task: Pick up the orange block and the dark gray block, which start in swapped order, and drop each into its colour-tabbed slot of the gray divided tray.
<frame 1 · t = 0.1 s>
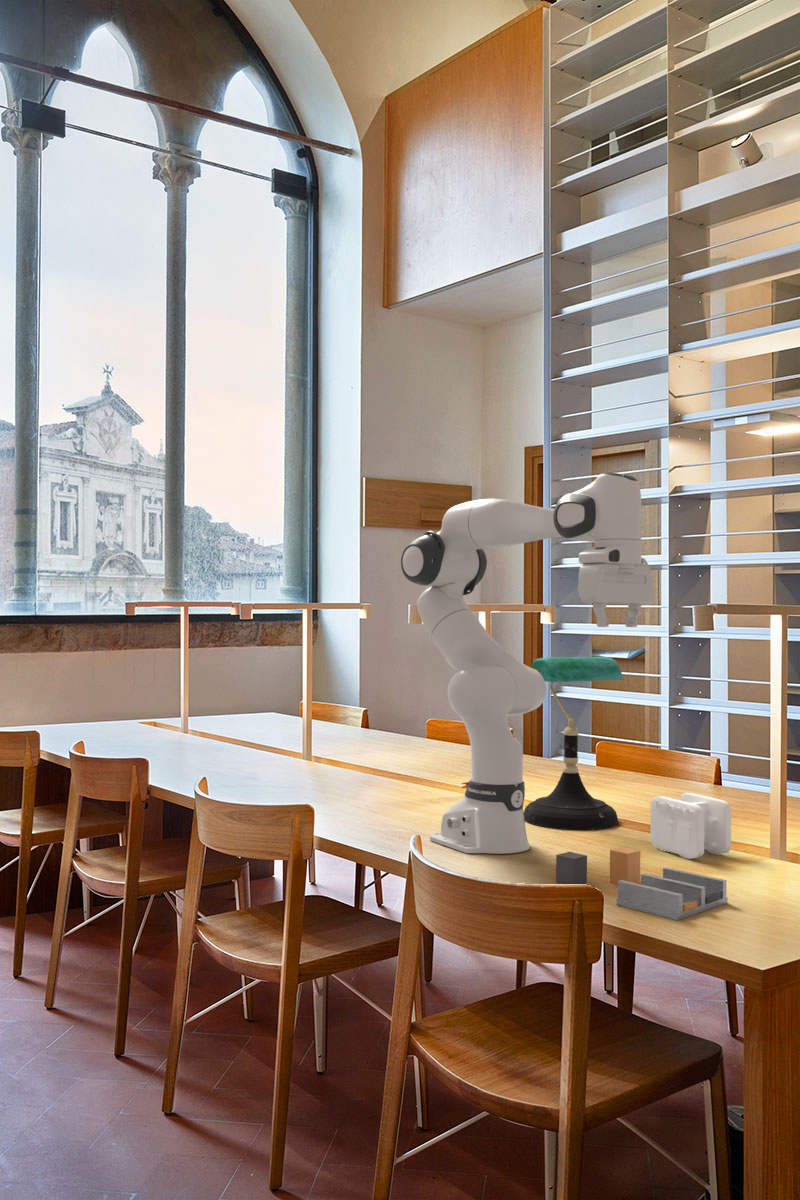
hand: (617, 627, 198), 48 cm above the table, fingers open, 8 cm apart
gray divided tray: (672, 903, 178), on the table
banker's lamp: (570, 821, 250), on the table
cable organizer: (690, 854, 217), on the table
orange block: (624, 882, 192), on the table
dark gray block: (571, 887, 187), on the table
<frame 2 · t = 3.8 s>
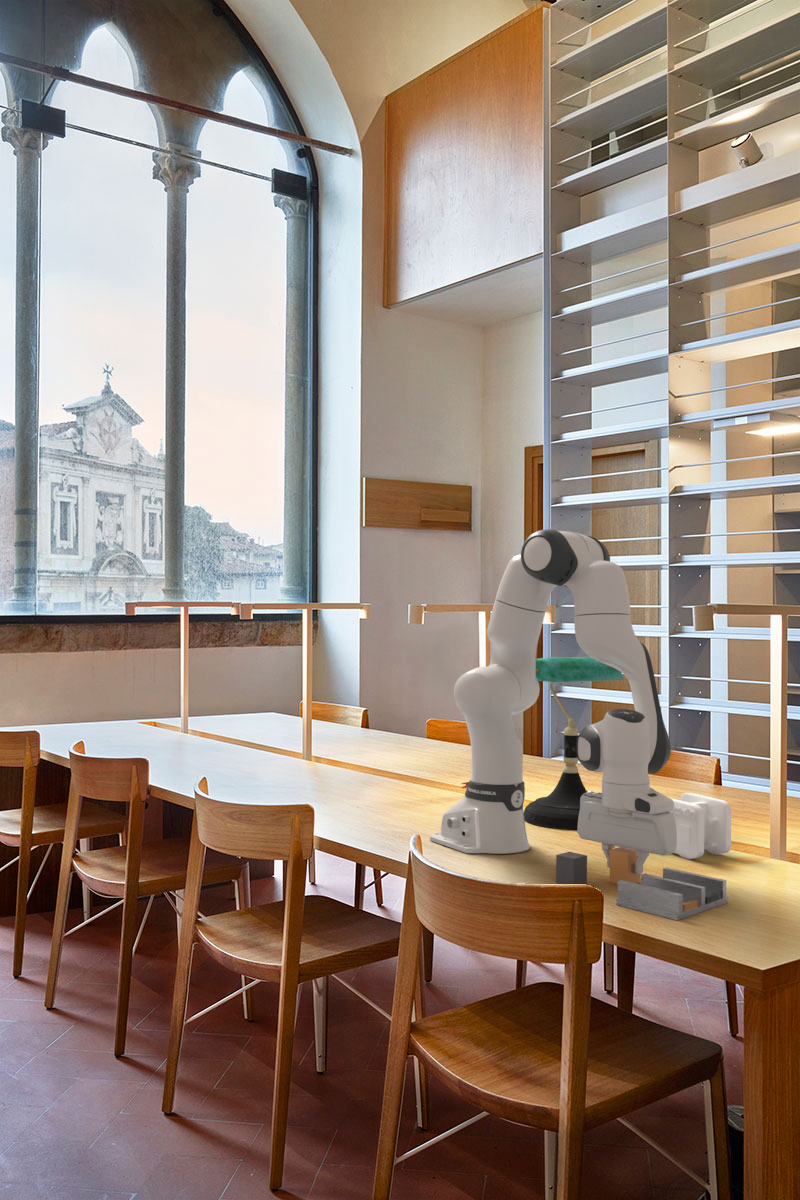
hand: (624, 870, 192), 2 cm above the table, fingers closed on orange block, 4 cm apart
orange block: (624, 882, 192), on the table, touching gripper
everything else where it was.
when the fingers open (5 cm above the table, at t = 9.1 s): orange block drops 1 cm, resting on gray divided tray.
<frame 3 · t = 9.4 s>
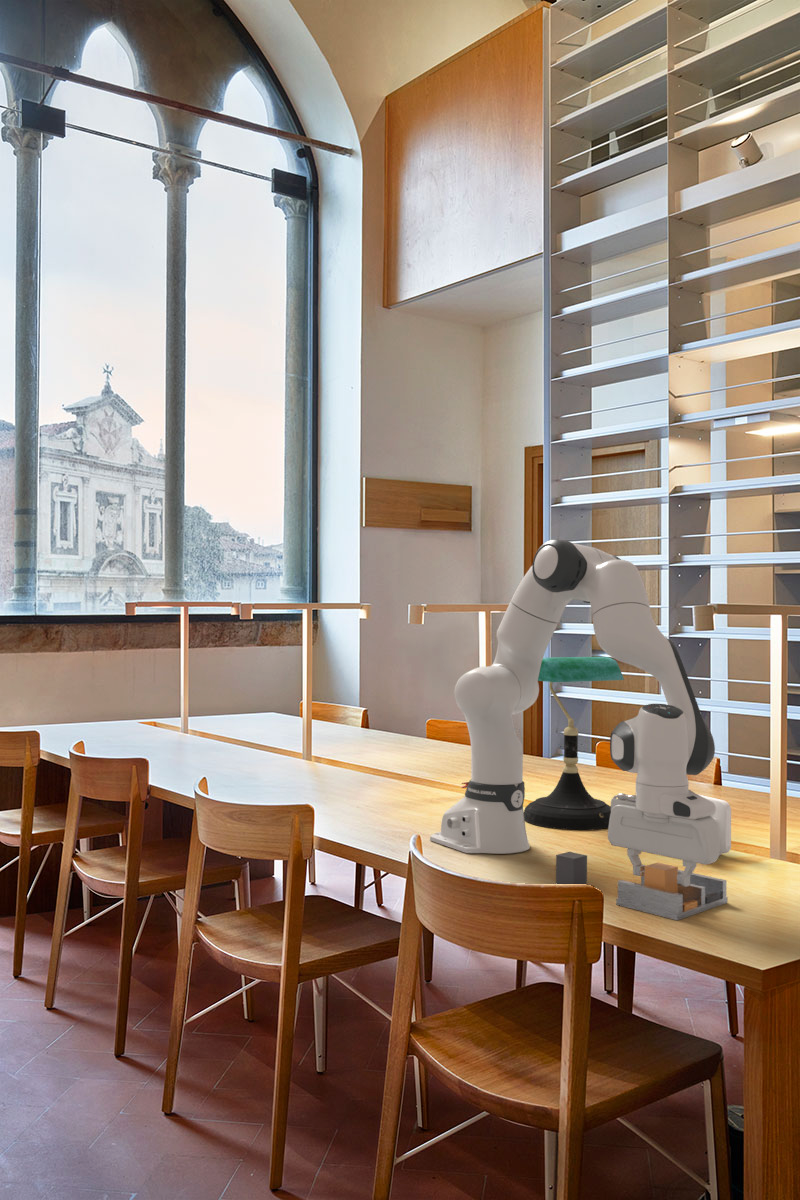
hand: (661, 880, 175), 5 cm above the table, fingers open, 7 cm apart
orange block: (660, 901, 175), point 1 cm above the table, touching gray divided tray
everything else where it was.
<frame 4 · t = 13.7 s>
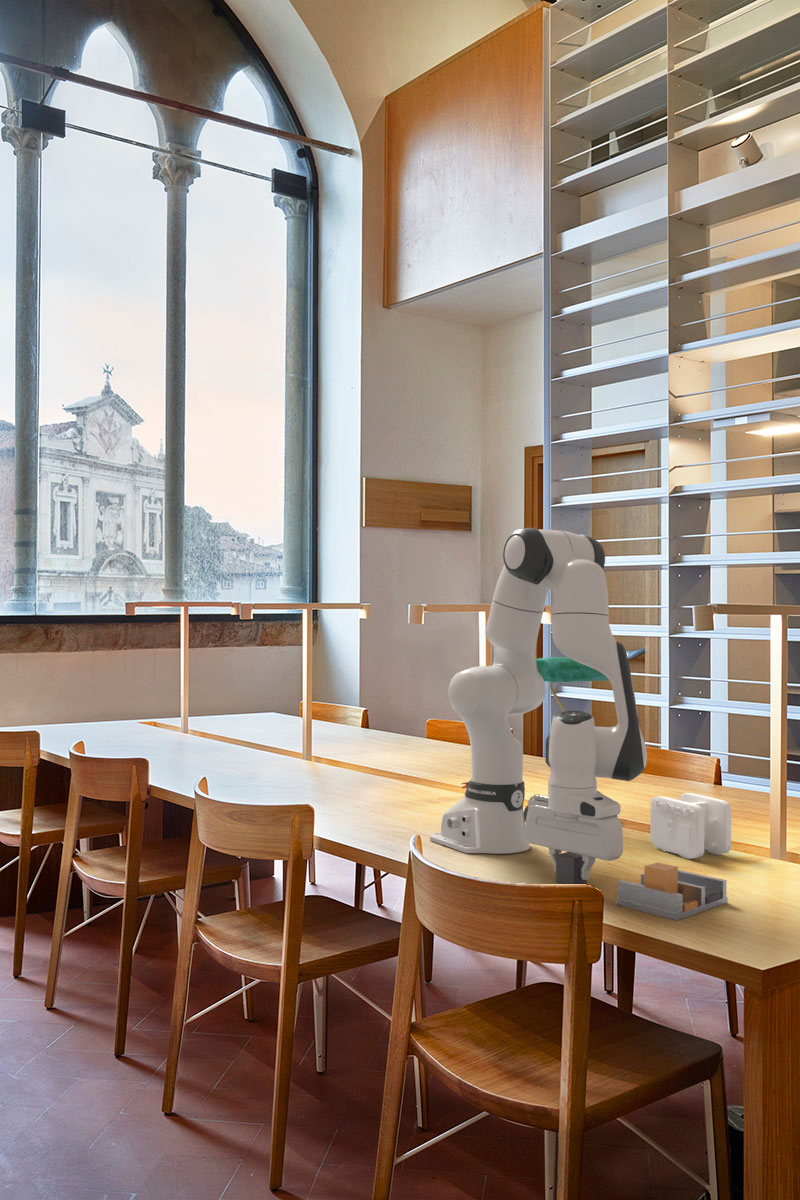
hand: (571, 876, 187), 2 cm above the table, fingers closed on dark gray block, 4 cm apart
dark gray block: (571, 887, 187), on the table, touching gripper
everything else where it was.
when the fingers open (5 cm above the table, at t = 19.2 s): dark gray block drops 1 cm, resting on gray divided tray.
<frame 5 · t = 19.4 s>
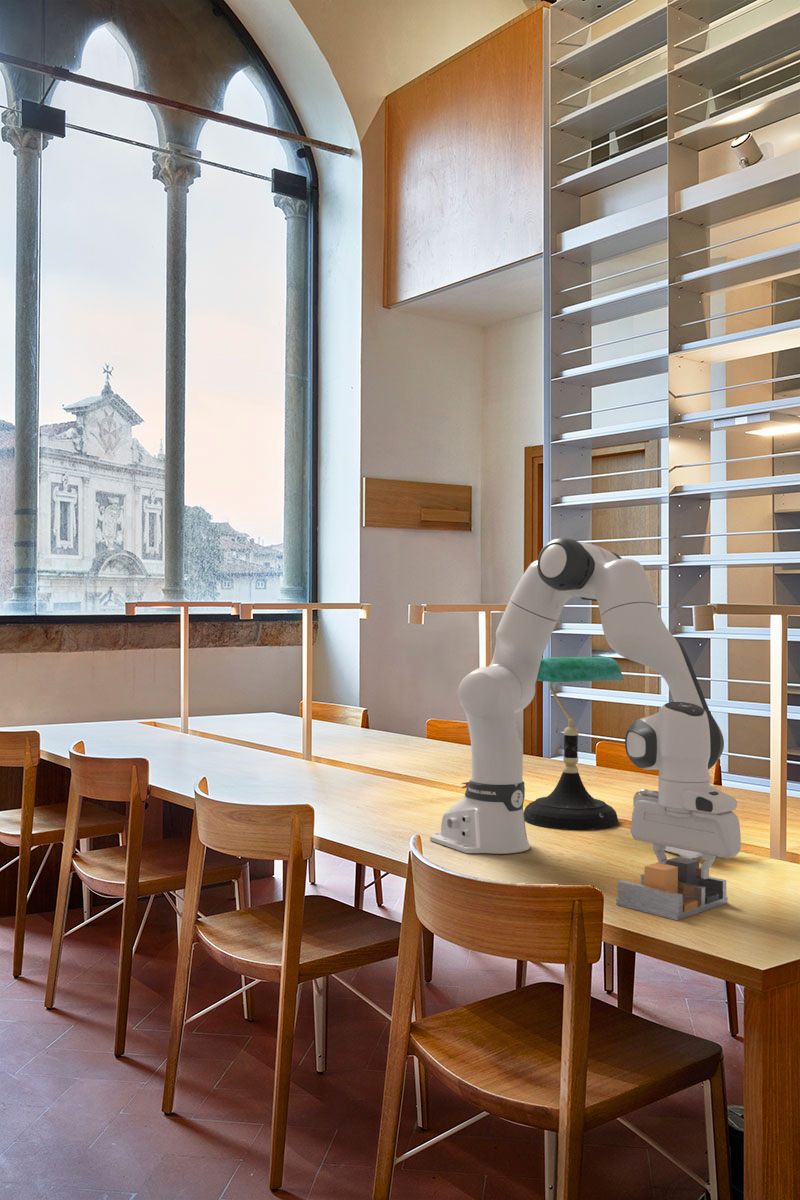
hand: (683, 873, 180), 5 cm above the table, fingers open, 6 cm apart
dark gray block: (682, 894, 180), point 1 cm above the table, touching gray divided tray
everything else where it was.
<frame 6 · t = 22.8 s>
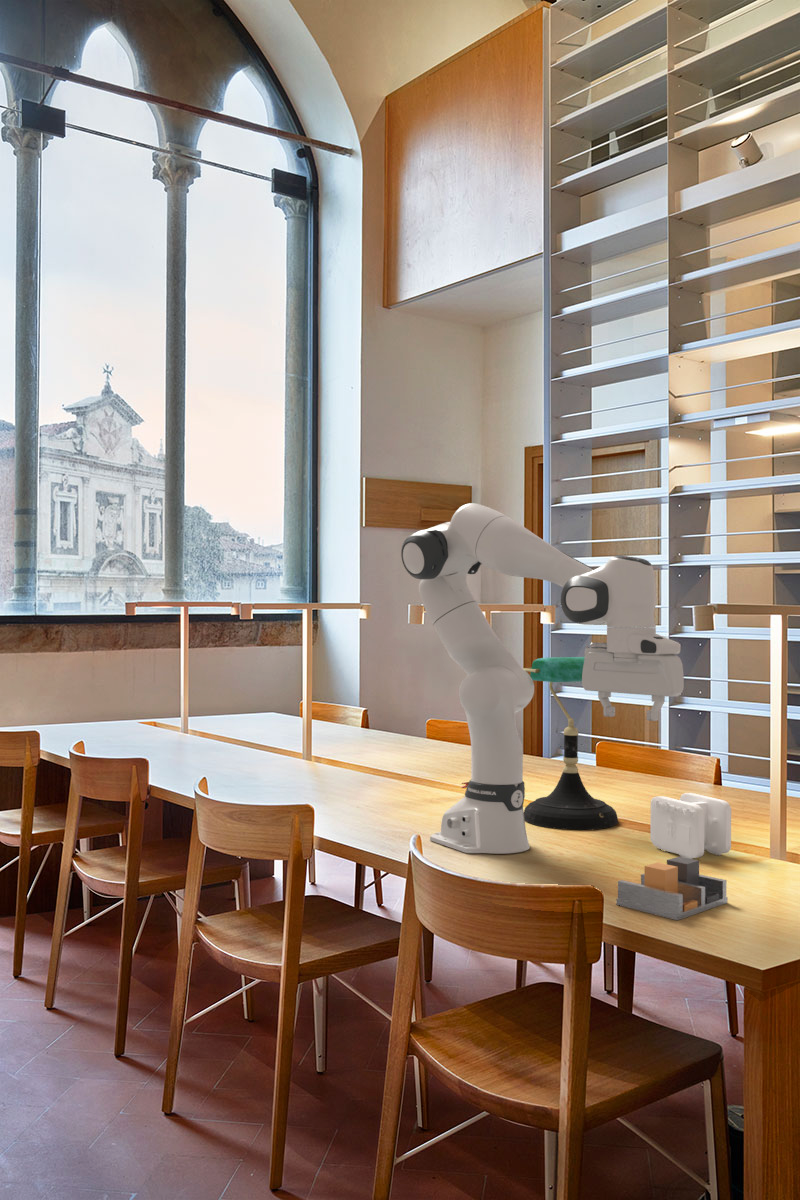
hand: (630, 718, 188), 31 cm above the table, fingers open, 8 cm apart
nothing on the table moved.
at the end: orange block inside the target area on the gray divided tray (0.1 cm from its centre), point 1.0 cm above the gray divided tray's base; dark gray block inside the target area on the gray divided tray (0.1 cm from its centre), point 1.0 cm above the gray divided tray's base; dark gray block tilted 0° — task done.
